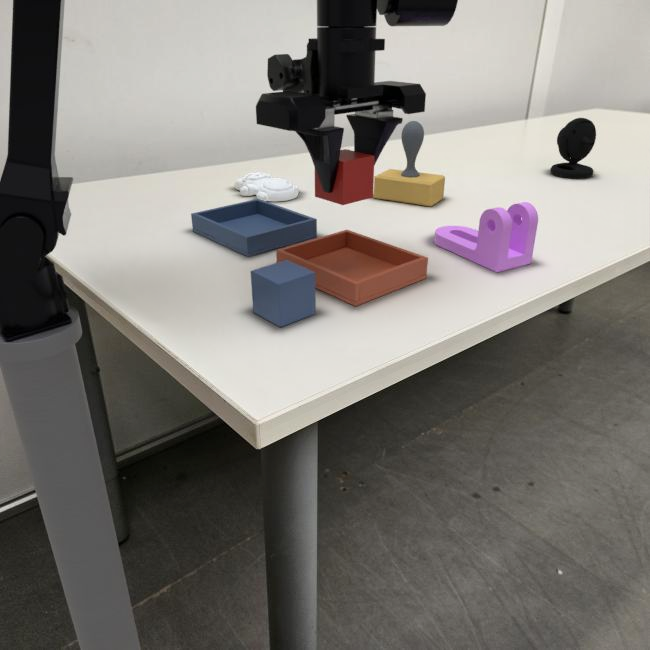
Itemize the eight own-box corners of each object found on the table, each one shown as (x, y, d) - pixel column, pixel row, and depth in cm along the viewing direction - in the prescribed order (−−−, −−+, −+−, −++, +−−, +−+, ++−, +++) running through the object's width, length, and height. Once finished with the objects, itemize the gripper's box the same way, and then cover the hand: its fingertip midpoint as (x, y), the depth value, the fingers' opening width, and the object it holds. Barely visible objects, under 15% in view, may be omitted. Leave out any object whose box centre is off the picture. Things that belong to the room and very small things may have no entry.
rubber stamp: (443, 198, 98) (450, 120, 93) (430, 207, 94) (437, 126, 89) (387, 190, 103) (391, 116, 97) (372, 198, 98) (375, 121, 93)
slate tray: (248, 256, 75) (246, 237, 74) (192, 231, 84) (190, 213, 83) (317, 237, 82) (316, 218, 80) (258, 215, 90) (258, 198, 89)
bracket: (531, 263, 73) (540, 206, 70) (497, 272, 70) (505, 213, 67) (457, 233, 83) (463, 182, 80) (425, 240, 80) (429, 187, 77)
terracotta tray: (355, 306, 62) (355, 283, 61) (276, 270, 71) (275, 249, 70) (426, 278, 69) (428, 257, 68) (346, 248, 78) (347, 229, 77)
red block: (342, 205, 63) (343, 161, 61) (314, 196, 66) (314, 154, 64) (373, 197, 66) (374, 155, 64) (344, 189, 69) (345, 149, 67)
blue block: (280, 327, 58) (278, 284, 56) (252, 312, 61) (250, 270, 59) (315, 313, 61) (315, 272, 59) (287, 299, 64) (286, 259, 62)
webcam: (571, 167, 118) (581, 113, 113) (602, 176, 112) (614, 119, 107) (540, 172, 115) (549, 116, 110) (570, 180, 109) (581, 122, 104)
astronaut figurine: (269, 181, 108) (269, 164, 107) (308, 196, 99) (308, 178, 98) (225, 189, 103) (224, 171, 102) (262, 205, 95) (261, 186, 93)
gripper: (357, 24, 69) (354, 163, 77) (218, 27, 58) (230, 188, 66) (434, 26, 62) (423, 179, 69) (290, 29, 51) (295, 211, 58)
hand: (344, 188), depth 66 cm, fingers closed on red block, 4 cm apart
